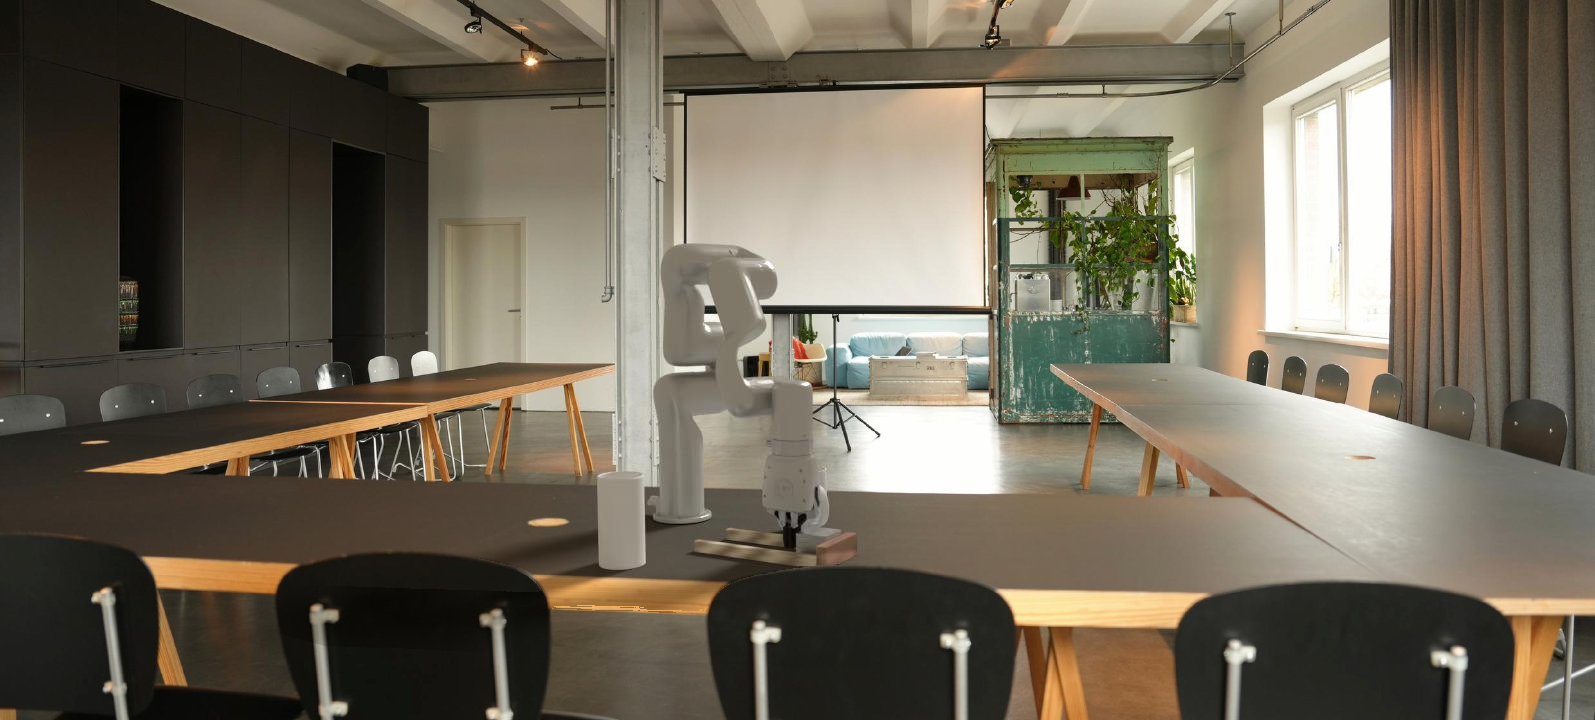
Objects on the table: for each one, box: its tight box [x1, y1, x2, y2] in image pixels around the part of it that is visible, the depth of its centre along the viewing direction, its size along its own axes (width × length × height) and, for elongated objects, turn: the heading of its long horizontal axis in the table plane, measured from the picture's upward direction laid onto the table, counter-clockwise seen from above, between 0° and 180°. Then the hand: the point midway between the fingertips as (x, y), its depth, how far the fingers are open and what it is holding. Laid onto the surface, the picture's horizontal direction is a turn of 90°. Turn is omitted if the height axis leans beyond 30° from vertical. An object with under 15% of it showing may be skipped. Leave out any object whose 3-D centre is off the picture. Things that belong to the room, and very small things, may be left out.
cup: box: [596, 470, 647, 571], centre depth 171 cm, size 8×8×16 cm
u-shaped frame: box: [693, 527, 858, 568], centre depth 177 cm, size 28×12×4 cm, turn 60°
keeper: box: [795, 526, 842, 555], centre depth 173 cm, size 6×6×5 cm
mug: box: [775, 464, 830, 531], centre depth 192 cm, size 15×11×13 cm
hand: (792, 546), depth 176 cm, fingers closed
